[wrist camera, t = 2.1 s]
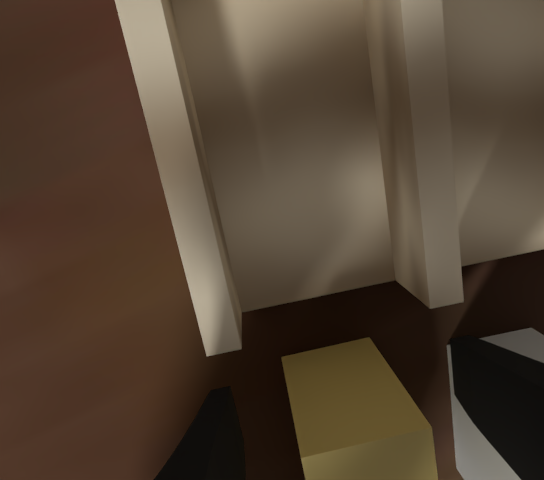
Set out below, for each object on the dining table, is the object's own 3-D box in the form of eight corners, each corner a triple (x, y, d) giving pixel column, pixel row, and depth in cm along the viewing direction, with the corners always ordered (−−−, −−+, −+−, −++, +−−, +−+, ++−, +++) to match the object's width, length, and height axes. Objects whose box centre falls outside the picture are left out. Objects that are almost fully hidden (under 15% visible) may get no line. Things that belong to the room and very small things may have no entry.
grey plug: (532, 477, 17) (649, 607, 12) (457, 493, 17) (545, 632, 12) (529, 326, 15) (665, 408, 10) (445, 343, 15) (543, 435, 10)
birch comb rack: (591, 230, 14) (693, 252, 11) (201, 311, 14) (188, 360, 11) (596, -111, 12) (731, -211, 8) (115, -25, 11) (65, -97, 8)
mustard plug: (392, 489, 16) (455, 630, 12) (314, 507, 16) (345, 658, 11) (368, 336, 15) (431, 427, 10) (281, 355, 15) (300, 458, 10)
